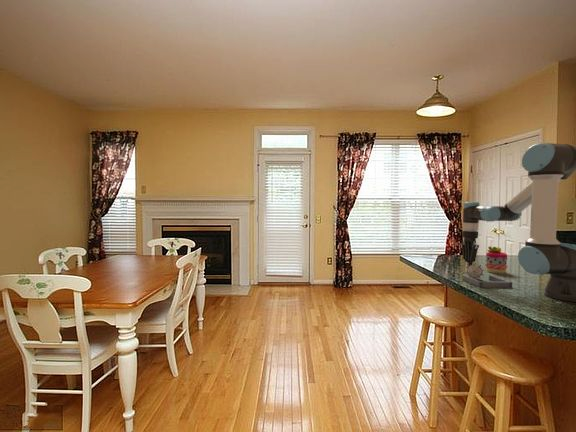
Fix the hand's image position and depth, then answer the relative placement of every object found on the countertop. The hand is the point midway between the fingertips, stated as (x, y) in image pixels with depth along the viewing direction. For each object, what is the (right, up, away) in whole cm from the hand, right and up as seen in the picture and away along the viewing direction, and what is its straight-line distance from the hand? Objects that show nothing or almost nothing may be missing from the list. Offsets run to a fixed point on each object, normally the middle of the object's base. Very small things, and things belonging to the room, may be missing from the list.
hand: (468, 273), depth 178 cm
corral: (0, -2, -14) cm, 15 cm away
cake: (+23, -1, +13) cm, 27 cm away
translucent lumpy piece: (0, -2, -5) cm, 6 cm away
